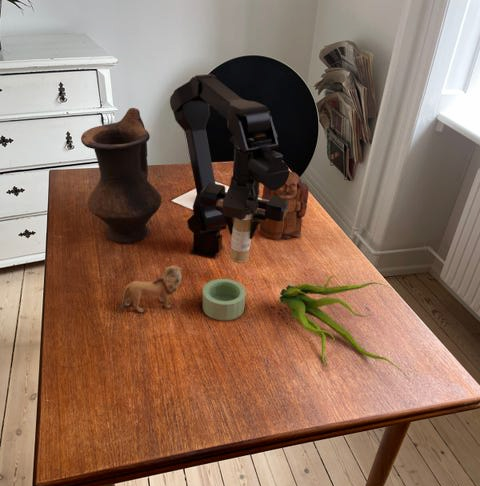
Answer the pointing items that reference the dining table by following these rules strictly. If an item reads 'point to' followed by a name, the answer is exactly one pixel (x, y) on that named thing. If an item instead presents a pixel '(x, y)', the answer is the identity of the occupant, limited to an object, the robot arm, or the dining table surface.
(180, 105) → the robot arm
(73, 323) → the dining table surface
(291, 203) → the wooden figurine
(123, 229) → the jug
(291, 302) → the decorative plant
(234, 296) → the jar
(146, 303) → the dining table surface
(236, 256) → the sprinkles bottle
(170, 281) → the lion figurine
